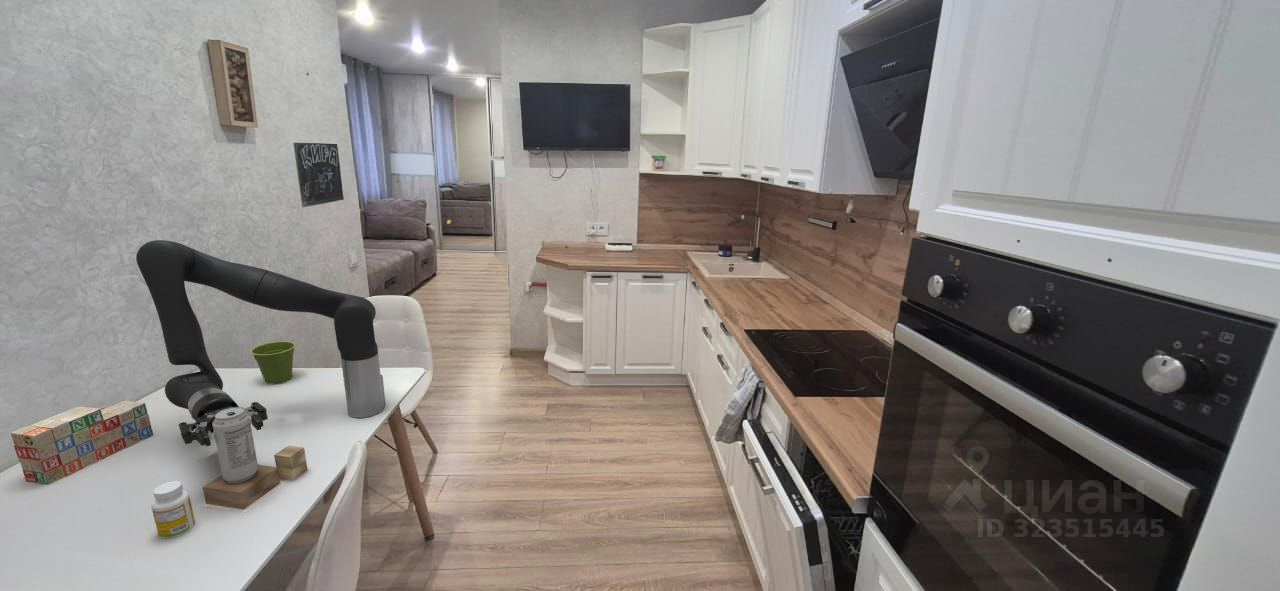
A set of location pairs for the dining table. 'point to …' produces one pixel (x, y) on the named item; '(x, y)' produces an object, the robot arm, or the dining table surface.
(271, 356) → the plant pot
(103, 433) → the stack of blocks
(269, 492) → the blueprint board
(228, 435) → the energy drink can
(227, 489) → the base block
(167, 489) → the supplement bottle
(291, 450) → the oak post
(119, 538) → the dining table surface
